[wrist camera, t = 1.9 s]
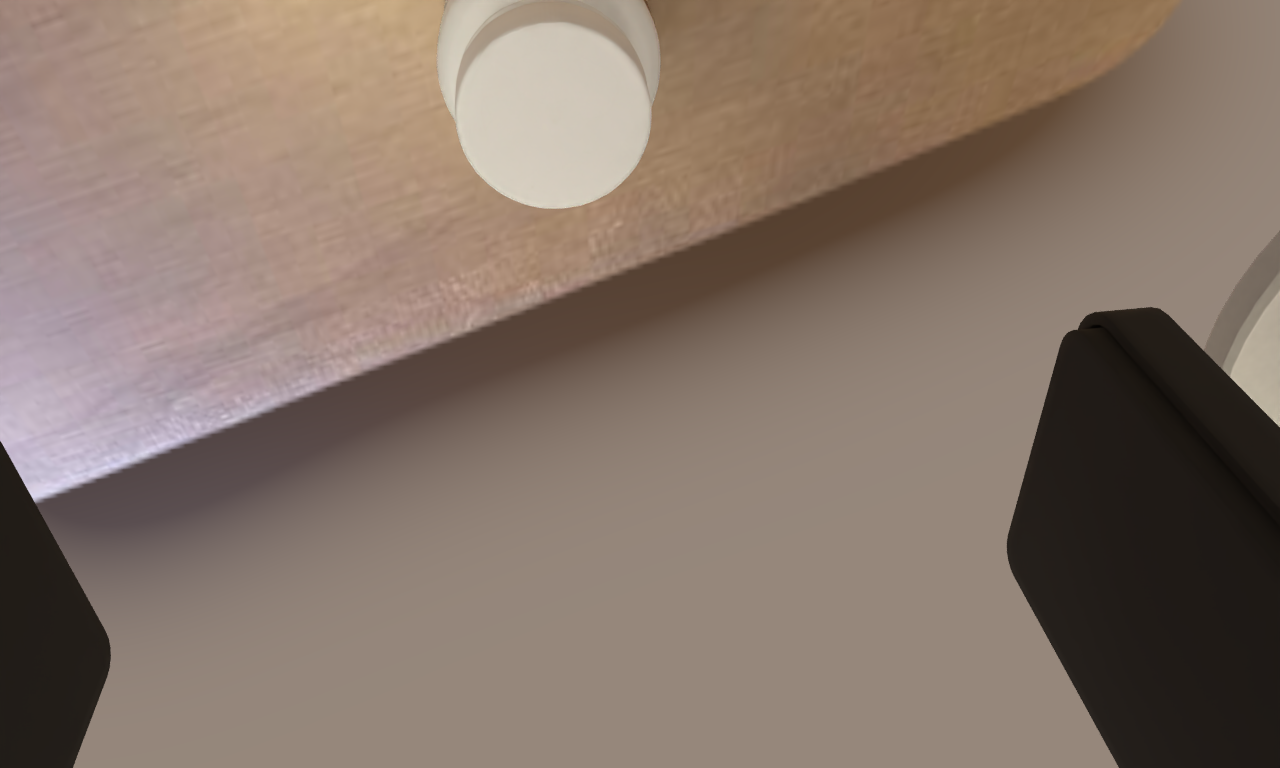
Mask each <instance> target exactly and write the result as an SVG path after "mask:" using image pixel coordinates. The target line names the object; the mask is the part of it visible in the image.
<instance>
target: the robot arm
mask: <svg viewBox="0 0 1280 768" xmlns="http://www.w3.org/2000/svg"><path fill="white" fill-rule="evenodd" d="M1007 554H1008V561H1009V564H1010V568H1011V570H1012V573H1013V575H1014V577H1015V579H1016V581H1017V582H1018V584H1019V586H1020V588H1021V590H1022V592H1023V594H1024V595H1025V597H1026V599H1027V601H1028V603H1029V604H1030V606H1031V608H1032V610H1033V612H1034V614H1035V616H1036V617H1037V619H1038V621H1039V623H1040V625H1041V626H1042V628H1043V630H1044V632H1045V634H1046V635H1047V637H1048V639H1049V641H1050V643H1051V645H1052V646H1053V648H1054V650H1055V652H1056V654H1057V656H1058V657H1059V659H1060V661H1061V663H1062V665H1063V666H1064V668H1065V670H1066V672H1067V674H1068V676H1069V677H1070V679H1071V681H1072V683H1073V685H1074V687H1075V688H1076V690H1077V692H1078V694H1079V696H1080V697H1081V699H1082V701H1083V703H1084V705H1085V707H1086V708H1087V710H1088V712H1089V714H1090V716H1091V718H1092V719H1093V721H1094V723H1095V725H1096V727H1097V728H1098V730H1099V732H1100V734H1101V736H1102V738H1103V739H1104V741H1105V743H1106V745H1107V747H1108V748H1109V750H1110V752H1111V754H1112V756H1113V757H1114V759H1115V761H1116V763H1117V765H1118V767H1119V768H1280V427H1279V426H1278V425H1277V424H1276V423H1275V422H1274V421H1273V420H1272V419H1271V418H1270V417H1269V416H1268V415H1267V414H1266V413H1265V412H1264V411H1263V410H1262V409H1261V408H1260V407H1259V406H1258V405H1257V404H1256V403H1255V402H1254V401H1253V400H1252V399H1251V398H1250V397H1249V396H1248V395H1247V394H1246V393H1245V392H1244V391H1243V390H1242V389H1241V388H1240V387H1239V386H1238V385H1237V384H1236V383H1235V382H1234V381H1233V380H1232V379H1231V378H1230V377H1229V376H1228V375H1227V374H1226V373H1225V372H1224V371H1223V370H1222V369H1221V368H1220V367H1219V366H1218V365H1217V364H1216V363H1215V362H1214V361H1213V360H1212V359H1211V358H1210V357H1209V356H1208V355H1207V354H1206V353H1205V352H1204V351H1203V350H1202V349H1201V348H1200V347H1199V346H1198V345H1197V344H1196V343H1195V342H1194V340H1193V339H1192V338H1190V337H1189V335H1187V333H1186V332H1184V330H1182V328H1180V326H1179V325H1178V324H1177V323H1176V322H1175V321H1174V320H1173V319H1172V318H1171V317H1170V316H1169V315H1167V314H1166V313H1165V312H1163V311H1162V310H1161V309H1158V308H1152V307H1148V308H1137V309H1126V310H1115V311H1104V312H1094V313H1092V314H1090V315H1087V316H1086V317H1085V318H1084V319H1083V321H1082V322H1081V323H1080V326H1079V328H1078V330H1073V331H1070V332H1068V333H1067V334H1066V335H1065V337H1064V338H1063V340H1062V343H1061V345H1060V348H1059V352H1058V356H1057V360H1056V363H1055V367H1054V370H1053V374H1052V377H1051V381H1050V385H1049V389H1048V392H1047V396H1046V399H1045V403H1044V407H1043V410H1042V414H1041V418H1040V421H1039V425H1038V428H1037V432H1036V436H1035V439H1034V443H1033V446H1032V450H1031V454H1030V457H1029V461H1028V465H1027V468H1026V472H1025V475H1024V479H1023V483H1022V486H1021V490H1020V494H1019V497H1018V501H1017V504H1016V508H1015V512H1014V515H1013V519H1012V523H1011V526H1010V530H1009V534H1008V539H1007ZM110 659H111V654H110V643H109V638H108V636H107V633H106V631H105V629H104V627H103V626H102V624H101V622H100V620H99V618H98V617H97V615H96V613H95V611H94V609H93V607H92V606H91V604H90V602H89V601H88V598H87V597H86V595H85V593H84V591H83V589H82V588H81V586H80V584H79V582H78V580H77V579H76V577H75V575H74V573H73V572H72V569H71V568H70V566H69V564H68V562H67V560H66V559H65V557H64V555H63V553H62V551H61V550H60V548H59V546H58V544H57V542H56V540H55V539H54V537H53V535H52V533H51V531H50V530H49V528H48V526H47V524H46V522H45V521H44V519H43V517H42V515H41V514H40V512H39V510H38V508H37V506H36V504H35V502H34V501H33V499H32V497H31V495H30V493H29V492H28V490H27V488H26V486H25V484H24V483H23V481H22V479H21V477H20V475H19V473H18V472H17V470H16V468H15V466H14V464H13V463H12V461H11V459H10V457H9V455H8V454H7V452H6V450H5V448H4V446H3V445H2V443H1V442H0V768H73V765H74V763H75V760H76V758H77V755H78V752H79V750H80V747H81V744H82V741H83V739H84V736H85V734H86V731H87V728H88V726H89V723H90V721H91V718H92V715H93V713H94V710H95V707H96V705H97V702H98V699H99V697H100V694H101V691H102V689H103V686H104V684H105V681H106V678H107V675H108V671H109V668H110Z"/></svg>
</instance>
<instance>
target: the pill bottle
mask: <svg viewBox="0 0 1280 768" xmlns="http://www.w3.org/2000/svg"><path fill="white" fill-rule="evenodd" d="M660 64H661V58H660V45H659V40H658V34H657V31H656V27H655V23H654V21H653V18H652V15H651V13H650V10H649V7H648V4H647V1H646V0H445V6H444V12H443V16H442V20H441V24H440V30H439V36H438V45H437V72H438V79H439V84H440V88H441V92H442V95H443V97H444V100H445V103H446V105H447V108H448V109H449V111H450V113H451V115H452V117H453V119H454V120H455V122H456V128H457V133H458V137H459V140H460V144H461V146H462V149H463V151H464V153H465V156H466V157H467V159H468V161H469V162H470V164H471V165H472V167H473V168H474V170H475V171H476V173H477V174H478V175H479V176H480V177H481V178H482V179H483V180H484V181H485V182H486V183H487V184H489V185H490V186H491V187H492V188H494V189H495V190H497V191H498V192H499V193H501V194H503V195H504V196H506V197H508V198H510V199H512V200H514V201H517V202H520V203H522V204H525V205H529V206H533V207H538V208H548V209H562V208H570V207H576V206H580V205H584V204H587V203H590V202H592V201H595V200H597V199H599V198H601V197H603V196H605V195H607V194H608V193H610V192H611V191H613V190H614V189H615V188H616V187H618V186H619V185H620V184H621V183H622V182H623V181H624V180H625V179H626V178H627V177H628V176H629V175H630V174H631V172H632V171H633V170H634V169H635V167H636V166H637V165H638V163H639V161H640V159H641V157H642V155H643V153H644V151H645V148H646V145H647V142H648V139H649V135H650V129H651V118H652V113H651V107H652V105H653V102H654V99H655V96H656V93H657V89H658V84H659V77H660Z"/></svg>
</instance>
